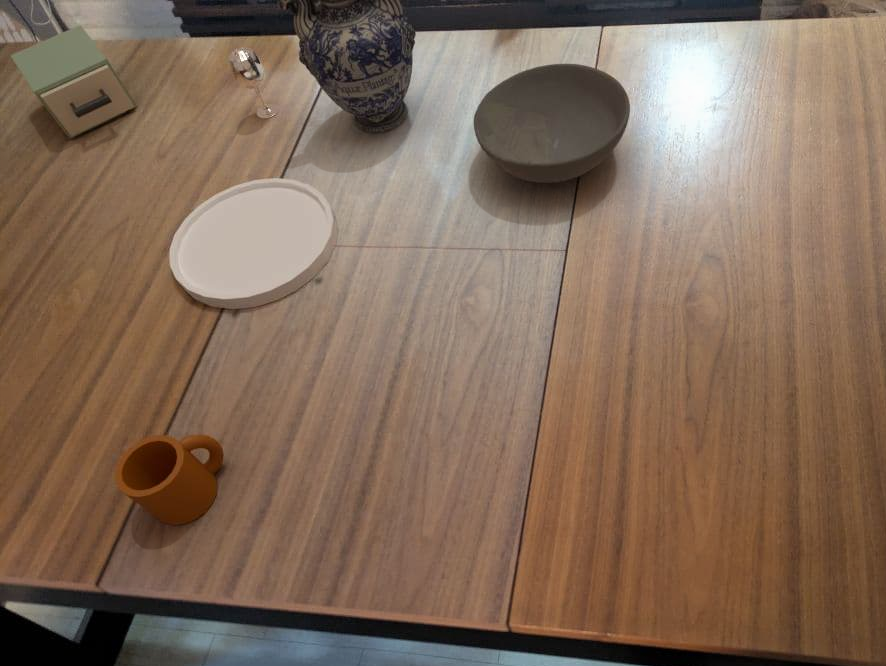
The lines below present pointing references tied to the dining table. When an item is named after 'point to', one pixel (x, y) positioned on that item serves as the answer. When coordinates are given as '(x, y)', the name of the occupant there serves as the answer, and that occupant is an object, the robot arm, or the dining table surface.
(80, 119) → the drawer
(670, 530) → the dining table surface
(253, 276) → the plate
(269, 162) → the dining table surface
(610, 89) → the bowl
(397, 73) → the decorative vase
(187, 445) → the mug
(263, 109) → the wineglass
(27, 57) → the cabinet
